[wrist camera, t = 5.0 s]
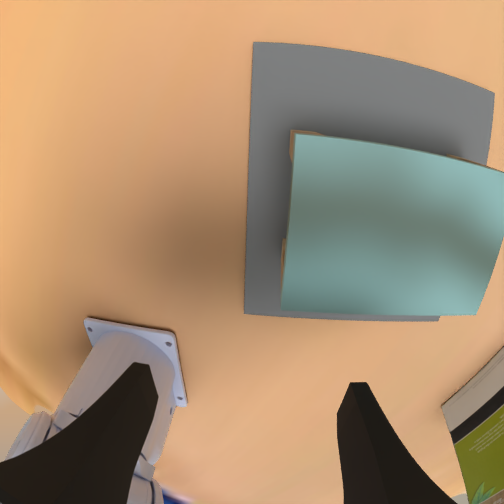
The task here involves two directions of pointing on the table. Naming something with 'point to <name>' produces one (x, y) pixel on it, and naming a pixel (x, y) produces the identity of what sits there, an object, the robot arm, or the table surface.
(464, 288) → the footstool
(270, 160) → the floor mat
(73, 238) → the table surface
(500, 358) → the tea box
